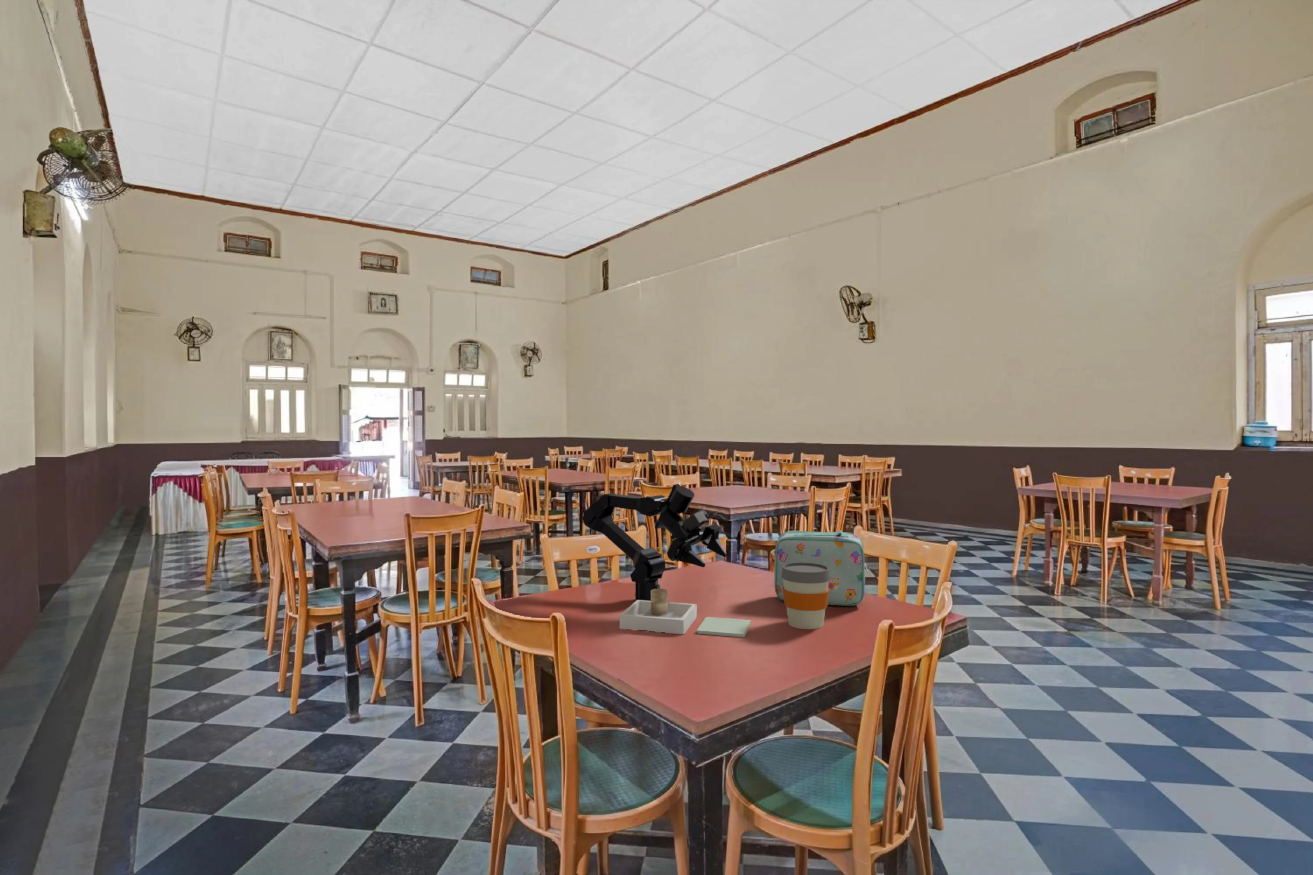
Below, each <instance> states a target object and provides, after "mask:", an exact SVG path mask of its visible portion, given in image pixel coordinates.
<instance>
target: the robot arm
mask: <svg viewBox="0 0 1313 875" xmlns="http://www.w3.org/2000/svg"><path fill="white" fill-rule="evenodd" d="M694 497H695V493H694V491H693V490H692V489H690V488H687V487H685V486H682V485H680V484H679V483H678V484H673V486H672V487H671V491H670V492H669V495H668V496H667V497H666V496H665V495H662V494H661V495H660V494H658V495H651V496H637V495H636V496H635V495H627V494H619V493H615V492H610V493H604V494H602V495H601V496H600V497H599V498H598V500H596V501H595V502H594V503H593V504H591V505H590V506H589V507H588V508H586V509H584V511H583V515H582V522H583V524H584V526H585V527H587V528H588V529H590V530H592V531H594V532H598V533H600V534H603V535H604V536H605V537H606V538H607V539H608V540H609V541H610V542H611V543H612V544H614V546H616V547H617V548H618V549H619V550H620V551H621V552H622V553H624V555H626V556H627V557H628V558H630V559H631V561H632V564H633V568H634V570H632V571H631V573H630V575H629V576H630V580H631V582H632V583H635V584H634V585H635V599H634V600H633V603H634V602H635V601H637V600H645V601H651V590H653V589H661V584H659V579H660V580H661V579H662V578H663V574H664V572H665V571H666V559H665V557H663V554H662V553H660V552H658V550H657V549H656V548H654V547H653V546H652V547H647V548H644V547H643V546H642V545H641V544H639V543H638V542H637V541H636V540H634V539H633V537H631V536H630V535H629V534H628V533H626V531H624V530H623V529H622V528H621V527H620V526H619V525H618V524H616V523H615V522H614V517H613V514H614V512H615V508H617V509H624V510H633V511H636V512H638V513H639V514H641V515H644V516H647V517H656V516H658V518H657V519H654V522H655V524H654V528H655V530H659V529H663V528H664V529H665V530H666V531H668V533H670V534H671V537H670V539H672V540H671V541H670V544H669V546H668V549H667V551H666V555H667V558H668V559H669V560H671V562H674V561H676V562H682V563H686V564H690V565H693V566H698V567H701V568H705V567H706V563H705V561H704V560H703V559H702V558H701V557H700V556H699V555H698V554H697V553H696V552H695V551H694V550H693V548H692V547H693V546H695V545H698V544H700V543H701V544H703V546H705V547H706V549H708V550H709V551H711V552H713V553H715V554H717V555H719V556H721V557H724V558H726V557H727V555H728V554H727V552H726V550H725V548H724V547H723V544H722V543H721V540H720V536H719V535H720V534H721V529H722V527H721V526H720V525H718V524H717V523H711V524H710V525H707V526H705V527H704V530H703V532H702V533H700V532H701V531H702V529H703V527H702V526H703V525H704V524H705V523H707V522H708V519H710V518H709V514H708V512H707V511H705V510H704V509H698V510H697V511H696V512H695V513H693V514H691V515H690V516H689V517H687V518H684V517H683V516H682V515H681V514H685V513H686V512H687V510H688V508H689V507H690V505H691V503H692V501H693V499H694Z"/></svg>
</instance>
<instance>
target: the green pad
mask: <svg viewBox="0 0 1313 875" xmlns="http://www.w3.org/2000/svg"><path fill="white" fill-rule="evenodd" d="M751 623H752V620H751V619H741V618H740V619H739V618H728V617H717V616H716V617H715V616H706V617H705V618H704V620H703V621H702V622H701V624H700V625H699V627H698V628H697V629H696V634H700V635H711V636H721V637H722V636H723V637H733V638H734V637H735V638H745V637H746V634H747V632H748V631H749V628H750V626H751Z"/></svg>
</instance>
